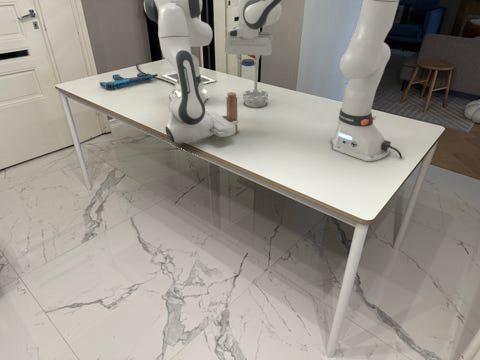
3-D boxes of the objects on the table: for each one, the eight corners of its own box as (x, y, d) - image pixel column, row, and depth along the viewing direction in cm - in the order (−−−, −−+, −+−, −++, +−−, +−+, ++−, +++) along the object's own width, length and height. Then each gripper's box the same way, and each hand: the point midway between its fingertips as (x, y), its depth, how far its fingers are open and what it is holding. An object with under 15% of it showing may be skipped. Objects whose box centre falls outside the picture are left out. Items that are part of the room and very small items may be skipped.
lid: (256, 64, 149) (256, 59, 148) (250, 67, 146) (250, 62, 145) (246, 62, 152) (246, 58, 151) (239, 65, 148) (239, 60, 147)
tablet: (161, 76, 220) (161, 75, 220) (187, 70, 231) (187, 69, 231) (189, 87, 200) (189, 87, 199) (216, 81, 211) (216, 80, 210)
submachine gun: (143, 67, 226) (161, 73, 210) (144, 73, 228) (162, 79, 212) (92, 77, 208) (107, 85, 191) (93, 83, 210) (109, 91, 193)
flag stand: (261, 97, 185) (263, 39, 169) (271, 105, 175) (275, 44, 158) (239, 100, 181) (239, 41, 165) (248, 109, 171) (249, 46, 154)
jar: (225, 132, 148) (223, 94, 139) (231, 129, 152) (230, 91, 142) (233, 135, 146) (233, 96, 137) (239, 131, 149) (239, 93, 140)
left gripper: (216, 128, 131) (246, 120, 137) (194, 111, 146) (222, 105, 152) (217, 142, 135) (246, 135, 140) (195, 124, 149) (223, 118, 155)
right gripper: (274, 30, 143) (272, 64, 150) (226, 29, 145) (226, 62, 153) (273, 33, 137) (271, 68, 145) (223, 32, 140) (224, 66, 147)
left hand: (233, 119), depth 146 cm, fingers closed on jar, 4 cm apart
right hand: (248, 65), depth 149 cm, fingers closed on lid, 5 cm apart
